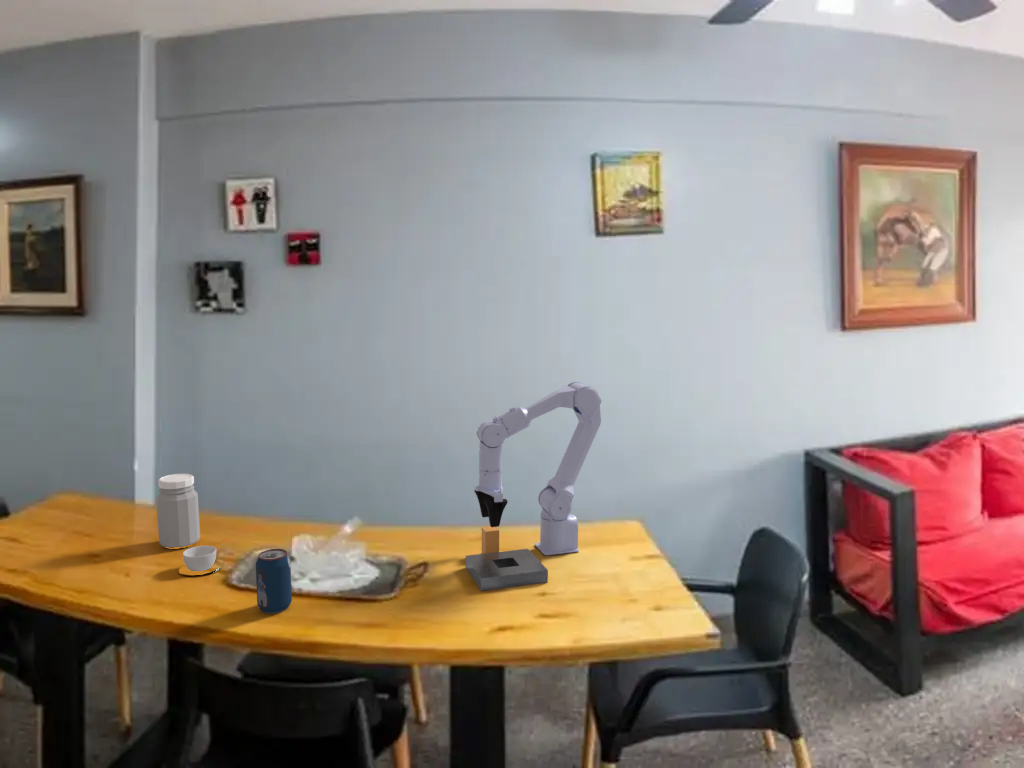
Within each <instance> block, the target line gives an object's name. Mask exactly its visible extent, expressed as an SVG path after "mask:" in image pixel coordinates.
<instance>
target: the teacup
mask: <svg viewBox="0 0 1024 768" xmlns="http://www.w3.org/2000/svg"><path fill="white" fill-rule="evenodd" d="M182 557H183V562H184V565H186V566H187V567H188V569H190V570H191V571H204V570H207V569H209V568H211V566H212V565H213V564H214V562H215V560H217V559H216V558H217V548H216V547H215V546H213V545H197V546H192V547H189V548H186V550H184V551H182ZM218 571H219V568H218V569H216V571H215V572H214V573H216V572H218Z"/></svg>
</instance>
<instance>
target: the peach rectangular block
mask: <svg viewBox="0 0 1024 768" xmlns="http://www.w3.org/2000/svg"><path fill="white" fill-rule="evenodd" d="M494 552H500V529H499V528H498V527H491V526H490V525H489V526H481V554H485V553H494Z"/></svg>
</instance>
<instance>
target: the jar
mask: <svg viewBox="0 0 1024 768" xmlns="http://www.w3.org/2000/svg"><path fill="white" fill-rule="evenodd" d="M194 483H195V476H194V475H193V474H191V473H173V474H168V475H164V476H161V477H160V478H159V479H157V484H158V487H159V489H158V492H159V493H158V495H157V496H156V498H155V499H156V501H155V502H156V515H157V529H158V543H159V544H160V545H161V547H163V548H164V547H169V548H174V547H183V546H188V545H191V544H193V543H196V544H197V542H198V541H199V540H200V538H201V529H200V528H201V527H200V510H199V509H200V508H199V494H198V492H197V490H195V485H194Z"/></svg>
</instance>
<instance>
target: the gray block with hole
mask: <svg viewBox="0 0 1024 768" xmlns="http://www.w3.org/2000/svg"><path fill="white" fill-rule="evenodd" d="M465 569H466V570H467V572H468V573H469V575H470V576H471V578H472V580H473V581H474V583H475V584H476V586H477V587H478V589H479V590H480V592H484V591H493V590H499V589H501V590H502V589H507V588H509V589H510V588H516V587H524V586H531V585H538V584H545V583H546V584H547V583H549V581H548V580H549V577H548V576H549V574H548V573H549V570H548V568H547V567H546V566H545V565H544V564H543V563H542V562H541V561H540V560H539V559H538V558H537V556H535V554H533V552H531V550H530V549H529V548H521V549H514V550H513V549H512V550H505V551H504V550H503V551H499V552H494V553H485V554H482V553H477V554H476V553H475V554H469V555H465Z"/></svg>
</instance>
